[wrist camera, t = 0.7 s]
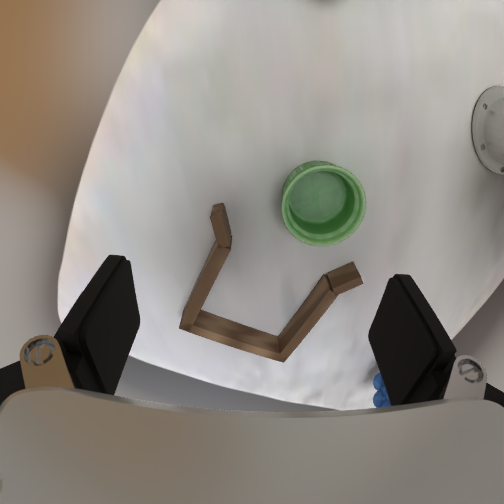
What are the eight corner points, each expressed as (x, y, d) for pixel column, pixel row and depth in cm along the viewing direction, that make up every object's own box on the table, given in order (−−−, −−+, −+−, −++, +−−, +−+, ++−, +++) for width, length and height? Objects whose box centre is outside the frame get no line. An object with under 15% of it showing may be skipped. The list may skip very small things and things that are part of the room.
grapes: (383, 379, 52) (400, 429, 42) (356, 375, 51) (372, 429, 41) (420, 338, 47) (446, 390, 37) (394, 331, 46) (419, 388, 35)
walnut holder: (358, 264, 39) (366, 279, 36) (293, 348, 47) (295, 365, 44) (216, 199, 35) (212, 211, 32) (169, 306, 43) (164, 323, 40)
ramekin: (350, 227, 37) (361, 245, 33) (278, 230, 37) (281, 248, 33) (356, 156, 32) (369, 166, 29) (277, 156, 33) (280, 166, 29)
